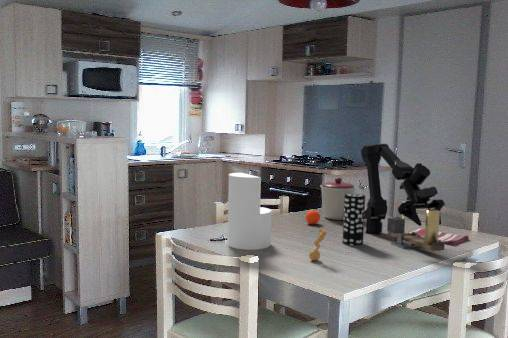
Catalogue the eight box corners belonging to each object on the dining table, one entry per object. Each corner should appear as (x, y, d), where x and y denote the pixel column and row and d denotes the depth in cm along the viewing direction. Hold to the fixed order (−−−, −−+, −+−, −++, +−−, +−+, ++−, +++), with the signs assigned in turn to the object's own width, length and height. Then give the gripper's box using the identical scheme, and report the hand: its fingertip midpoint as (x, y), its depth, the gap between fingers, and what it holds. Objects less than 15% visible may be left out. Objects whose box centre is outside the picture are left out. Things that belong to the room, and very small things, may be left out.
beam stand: (390, 243, 213) (391, 231, 213) (411, 242, 217) (411, 230, 216) (403, 248, 206) (403, 235, 205) (423, 246, 209) (424, 234, 209)
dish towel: (454, 247, 212) (454, 241, 212) (400, 237, 228) (401, 231, 228) (469, 240, 225) (469, 234, 224) (417, 231, 240) (418, 226, 240)
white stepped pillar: (239, 251, 196) (240, 178, 193) (220, 241, 212) (221, 173, 209) (278, 247, 204) (280, 176, 201) (258, 237, 219) (259, 171, 217)
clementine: (301, 224, 247) (301, 210, 246) (305, 222, 253) (305, 207, 253) (317, 226, 244) (318, 211, 243) (321, 223, 251) (322, 209, 250)
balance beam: (386, 234, 220) (387, 217, 219) (396, 233, 222) (397, 217, 221) (433, 251, 193) (434, 232, 192) (444, 250, 195) (445, 231, 194)
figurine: (313, 257, 191) (314, 225, 190) (329, 259, 188) (330, 227, 187) (304, 262, 184) (306, 229, 182) (320, 265, 181) (322, 231, 179)
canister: (315, 214, 273) (316, 175, 270) (348, 214, 275) (350, 175, 272) (323, 221, 255) (325, 179, 252) (359, 221, 257) (361, 179, 254)
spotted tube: (364, 242, 216) (366, 194, 213) (361, 246, 208) (363, 197, 206) (344, 240, 218) (346, 193, 216) (340, 244, 210) (342, 195, 208)
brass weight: (425, 245, 196) (427, 211, 194) (422, 242, 201) (424, 208, 199) (439, 245, 195) (441, 211, 194) (436, 242, 200) (438, 209, 199)
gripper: (404, 180, 198) (421, 214, 189) (443, 179, 204) (461, 211, 195) (390, 197, 206) (406, 230, 197) (428, 195, 212) (445, 227, 203)
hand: (430, 224), depth 198 cm, fingers open, 9 cm apart
